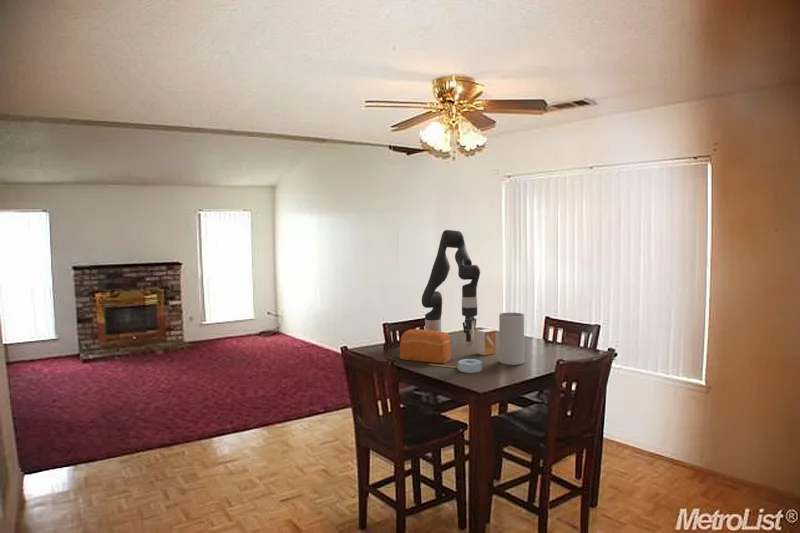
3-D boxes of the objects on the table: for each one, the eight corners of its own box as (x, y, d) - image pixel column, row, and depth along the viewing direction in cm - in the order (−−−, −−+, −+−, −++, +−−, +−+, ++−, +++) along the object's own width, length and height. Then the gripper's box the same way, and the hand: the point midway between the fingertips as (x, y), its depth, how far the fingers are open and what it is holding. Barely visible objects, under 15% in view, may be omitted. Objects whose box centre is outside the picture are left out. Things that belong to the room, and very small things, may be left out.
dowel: (465, 346, 268) (465, 322, 267) (467, 344, 271) (467, 320, 270) (472, 346, 267) (472, 322, 266) (474, 345, 270) (474, 321, 269)
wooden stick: (428, 365, 279) (428, 363, 279) (429, 365, 280) (429, 363, 280) (459, 368, 272) (459, 367, 272) (460, 368, 272) (460, 366, 272)
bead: (455, 371, 267) (455, 363, 267) (463, 365, 277) (463, 358, 277) (477, 373, 263) (476, 365, 262) (484, 368, 272) (484, 360, 272)
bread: (443, 364, 281) (442, 334, 280) (397, 359, 293) (397, 330, 291) (453, 358, 293) (452, 329, 292) (409, 354, 305) (408, 326, 304)
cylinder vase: (527, 365, 277) (527, 316, 275) (503, 365, 276) (502, 316, 274) (520, 359, 289) (520, 312, 288) (496, 359, 288) (496, 312, 287)
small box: (484, 355, 298) (484, 332, 297) (477, 353, 304) (476, 330, 303) (495, 353, 303) (495, 330, 302) (488, 351, 308) (487, 328, 307)
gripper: (467, 303, 276) (467, 337, 277) (457, 307, 263) (457, 342, 264) (481, 304, 272) (481, 338, 273) (472, 308, 260) (472, 344, 261)
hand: (469, 340), depth 269 cm, fingers closed on dowel, 3 cm apart
